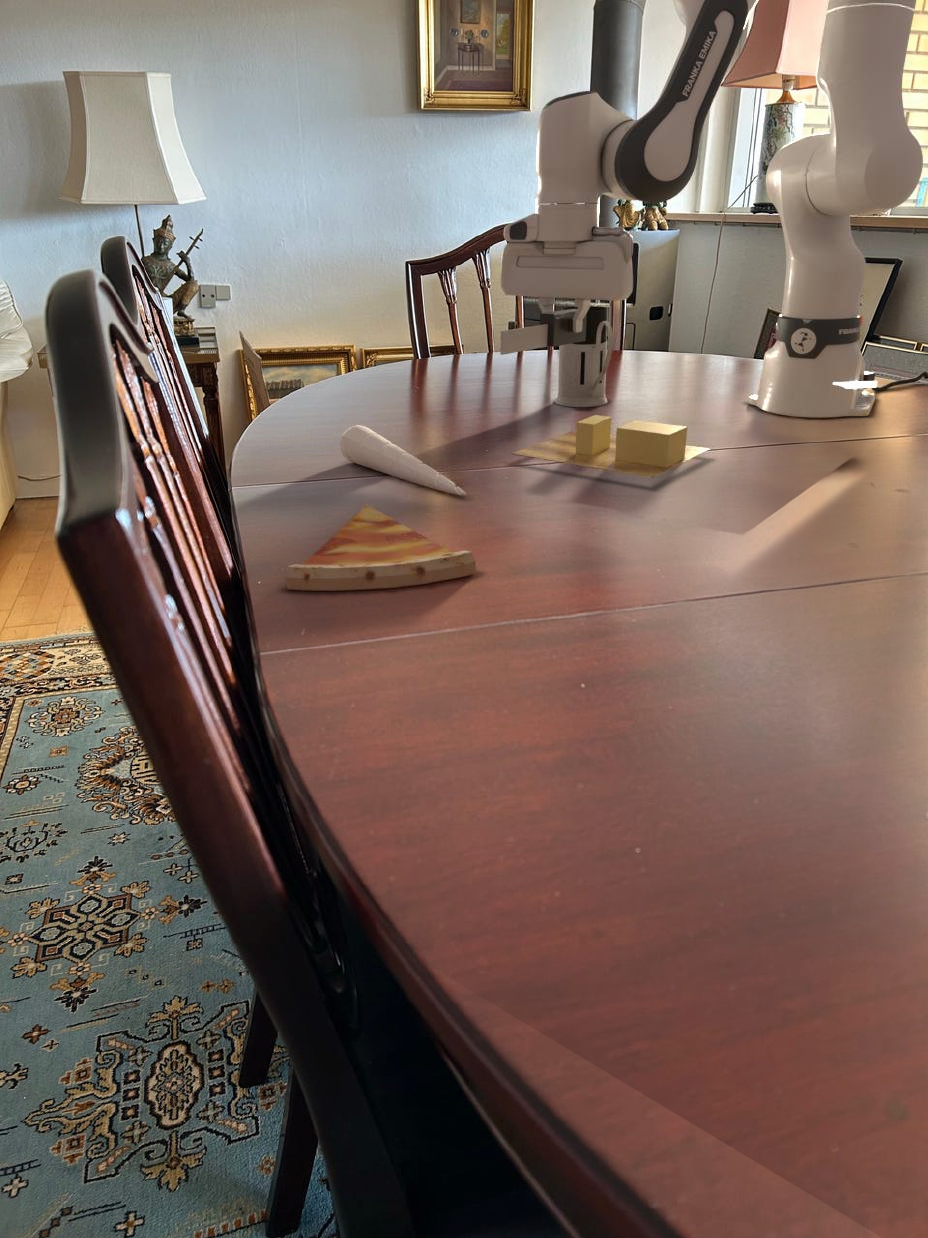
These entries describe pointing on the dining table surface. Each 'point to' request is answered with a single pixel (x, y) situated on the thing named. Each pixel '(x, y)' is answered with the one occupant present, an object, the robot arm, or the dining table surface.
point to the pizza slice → (377, 558)
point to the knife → (543, 333)
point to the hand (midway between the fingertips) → (563, 330)
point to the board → (597, 456)
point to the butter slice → (593, 435)
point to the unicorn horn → (391, 459)
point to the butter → (650, 443)
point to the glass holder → (586, 363)
